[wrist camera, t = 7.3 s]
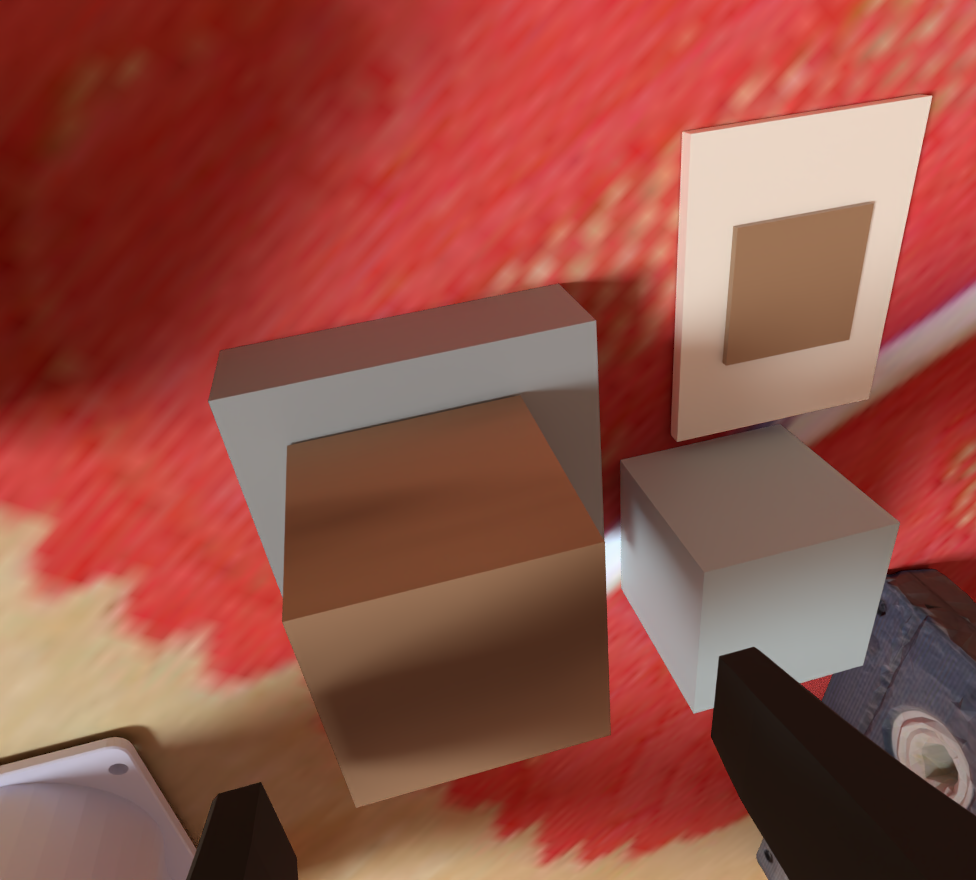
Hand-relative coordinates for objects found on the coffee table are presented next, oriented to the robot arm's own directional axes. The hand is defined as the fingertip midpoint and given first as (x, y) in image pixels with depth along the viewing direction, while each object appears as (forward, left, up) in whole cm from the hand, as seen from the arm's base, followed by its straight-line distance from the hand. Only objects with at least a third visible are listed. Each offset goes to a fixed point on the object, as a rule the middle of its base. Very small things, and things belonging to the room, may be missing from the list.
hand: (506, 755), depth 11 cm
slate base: (0, 0, -9) cm, 9 cm away
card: (+3, -10, -9) cm, 14 cm away
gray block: (-4, -8, -9) cm, 13 cm away
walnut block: (0, 0, -6) cm, 6 cm away
